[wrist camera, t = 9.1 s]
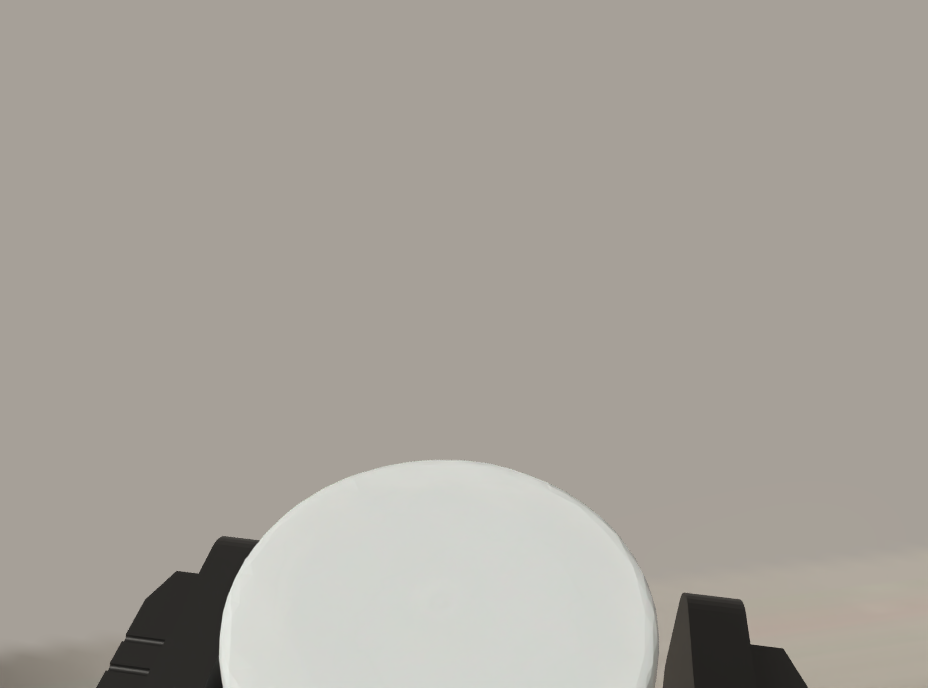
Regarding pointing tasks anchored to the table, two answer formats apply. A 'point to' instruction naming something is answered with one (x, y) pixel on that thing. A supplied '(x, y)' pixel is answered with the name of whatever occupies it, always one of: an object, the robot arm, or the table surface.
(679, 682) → the robot arm
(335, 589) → the pill bottle
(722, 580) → the table surface
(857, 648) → the table surface
